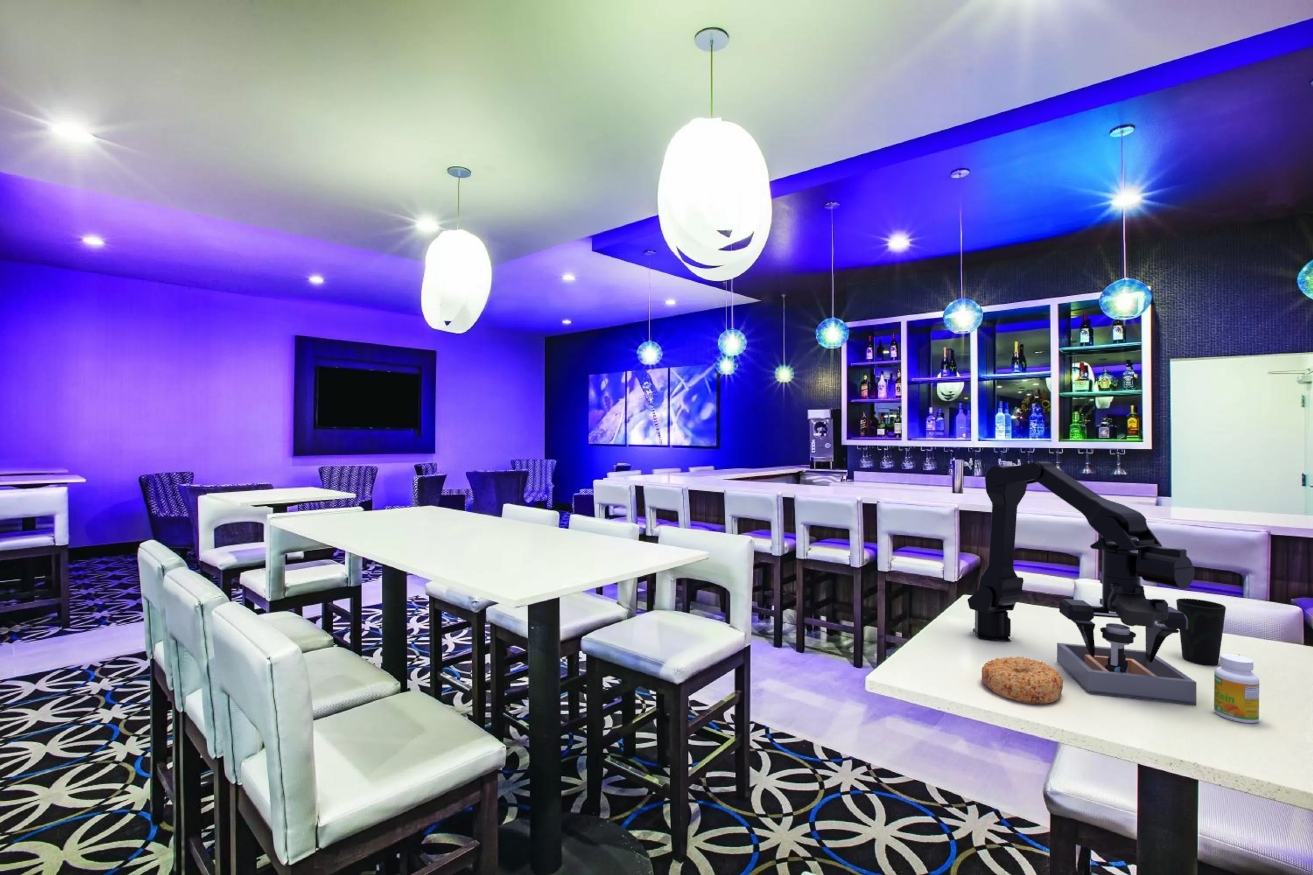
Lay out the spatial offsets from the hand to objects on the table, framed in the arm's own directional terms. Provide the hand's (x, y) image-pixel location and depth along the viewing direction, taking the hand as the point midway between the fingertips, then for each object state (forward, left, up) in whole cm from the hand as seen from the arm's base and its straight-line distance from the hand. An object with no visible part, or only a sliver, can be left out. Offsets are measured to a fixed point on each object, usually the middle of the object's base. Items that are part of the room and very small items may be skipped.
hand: (1120, 658), depth 114 cm
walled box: (0, 0, -4) cm, 4 cm away
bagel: (-19, -10, -5) cm, 22 cm away
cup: (+21, +18, -4) cm, 28 cm away
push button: (0, 0, -4) cm, 4 cm away
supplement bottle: (+12, -11, -4) cm, 17 cm away
